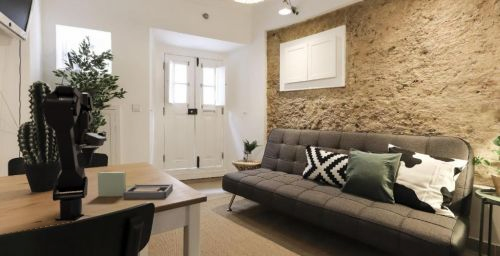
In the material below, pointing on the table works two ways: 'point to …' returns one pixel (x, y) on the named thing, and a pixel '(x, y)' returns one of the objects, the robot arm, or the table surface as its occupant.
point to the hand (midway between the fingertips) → (80, 167)
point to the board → (111, 183)
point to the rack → (158, 194)
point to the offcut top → (146, 190)
